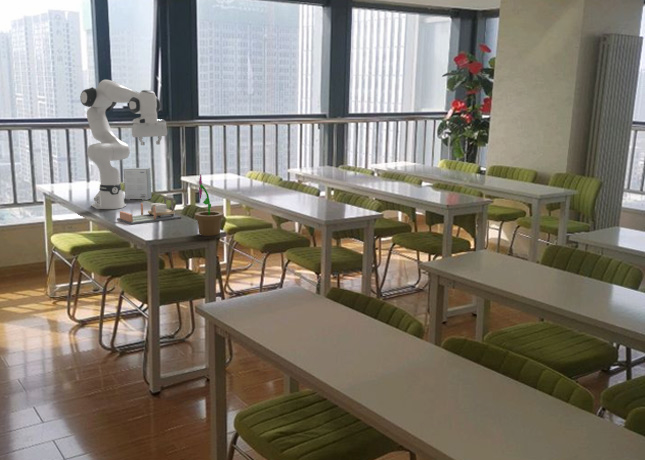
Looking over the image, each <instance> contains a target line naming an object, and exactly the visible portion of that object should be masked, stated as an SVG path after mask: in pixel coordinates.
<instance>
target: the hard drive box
mask: <svg viewBox="0 0 645 460" xmlns="http://www.w3.org/2000/svg"><path fill="white" fill-rule="evenodd" d="M151 176H152V175H151V168H150V167H126V168H124V169H123V179H124V180H123V181H124V200H130V199H142V200H141V201H148V200H150V199H152V182H151V181H152V179H151Z"/></svg>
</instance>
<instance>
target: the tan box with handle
mask: <svg viewBox="0 0 645 460" xmlns="http://www.w3.org/2000/svg"><path fill="white" fill-rule="evenodd" d="M163 199H164V200H163V202H155V203H154V202H153V203H150V210H147V214H152V215H154V209H153V207H156V216H158V217H161V215H169V214H170V215H171V216H173V215H174V214H175V215H176V212H175V210H174V200H175V199H174V197H169V196H166V195H164V196H163ZM167 200H168V201H171V205H170V206H171V209H169V208H167V206H168V205H167Z"/></svg>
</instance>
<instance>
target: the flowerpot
mask: <svg viewBox="0 0 645 460" xmlns="http://www.w3.org/2000/svg"><path fill="white" fill-rule="evenodd" d="M198 184H199V186H198V191H199V192H198V193H199V199H200V200H201V199H202V196H203V191H204V193H205V195H206V198H205V199H204V200H203V202H202V203H203V204H204V205H207V211H197V212H194V218H195V220H196V222H197V227H198V228H197V229H198V234H199V235H200V234H201V235H200V236H205V237H206V236H207V237H208V236H209V237H210V236H211V237H212V236H218V235H220V234H221V227H222V226H221V224H222V219H224V218H225V217H224V213H223V212H221V211H217V210H216V211H214V210H213V211H212V210H211V208H212V204H211V202H210V197H209V196H210V195H209V193H208V192H207V190H206V187H205V186H204V185H203V179H202V174H201V173H200V175H199V179H198Z"/></svg>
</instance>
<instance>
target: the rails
mask: <svg viewBox="0 0 645 460" xmlns="http://www.w3.org/2000/svg"><path fill="white" fill-rule="evenodd" d="M175 215H176V213H175V214H174V215H173V216H175ZM132 216H133V218H135V219H133V221H134V220H142V219H150V218H154V215H152V214H149V213H147V214H143V215H141V214H139V215H132ZM145 216H151V217H145ZM168 216H171V215H170V214H169V215H161V217H168ZM137 217H143V218H137ZM156 218H160V217H158V216H156Z"/></svg>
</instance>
